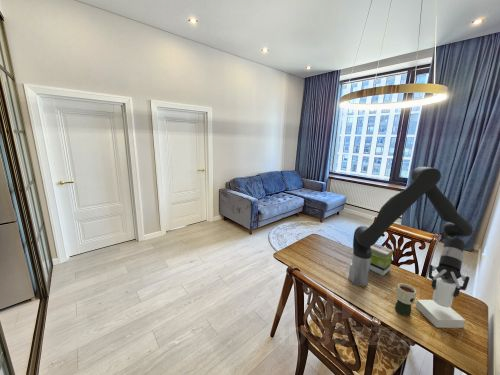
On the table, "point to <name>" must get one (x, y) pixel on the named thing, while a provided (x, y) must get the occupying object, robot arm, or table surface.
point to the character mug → (405, 299)
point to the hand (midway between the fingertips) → (444, 292)
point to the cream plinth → (440, 314)
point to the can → (444, 291)
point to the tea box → (380, 259)
